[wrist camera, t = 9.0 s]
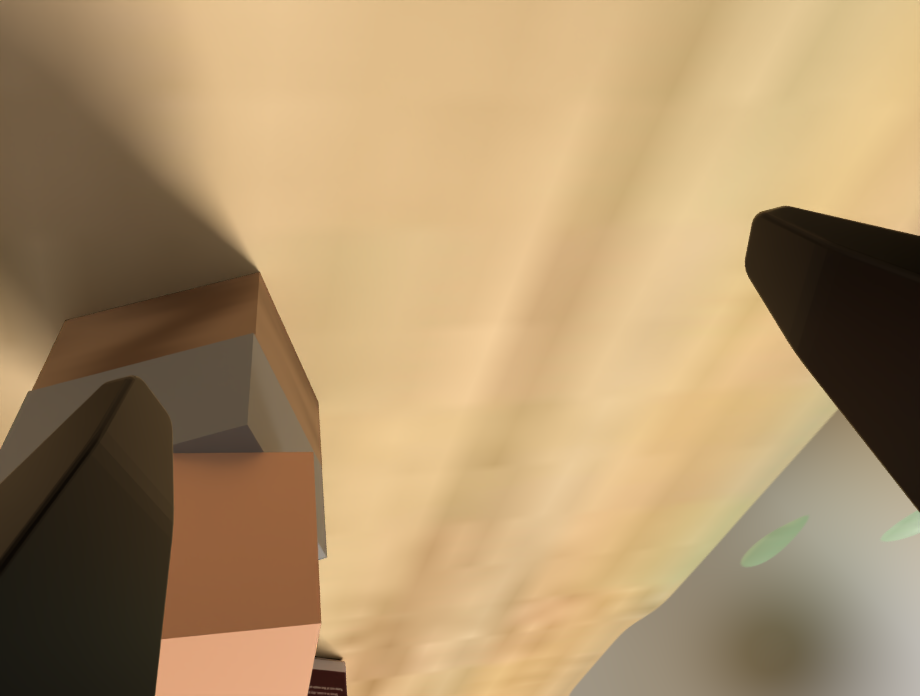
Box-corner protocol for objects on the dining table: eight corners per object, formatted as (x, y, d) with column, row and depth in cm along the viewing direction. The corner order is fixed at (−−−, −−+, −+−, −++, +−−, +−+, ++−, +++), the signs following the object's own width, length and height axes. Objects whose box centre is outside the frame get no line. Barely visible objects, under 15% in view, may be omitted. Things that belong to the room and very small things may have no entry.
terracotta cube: (313, 451, 17) (321, 623, 13) (300, 553, 20) (303, 717, 16) (113, 453, 15) (57, 649, 11) (131, 563, 18) (91, 749, 14)
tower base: (259, 269, 22) (255, 335, 19) (318, 398, 26) (322, 468, 23) (67, 317, 21) (30, 393, 18) (160, 440, 26) (144, 517, 23)
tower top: (253, 332, 19) (247, 424, 16) (321, 467, 23) (327, 557, 20) (28, 391, 18) (-23, 498, 15) (143, 516, 23) (122, 617, 20)
